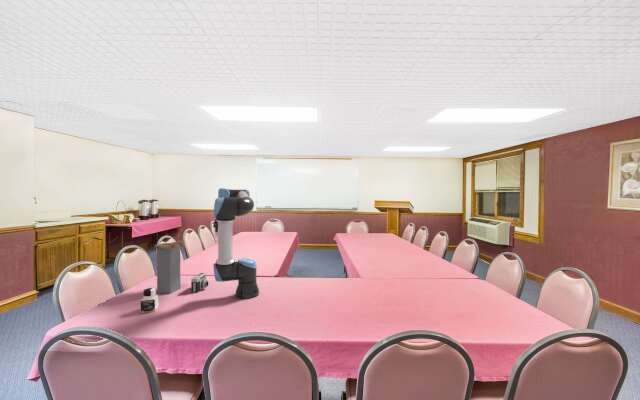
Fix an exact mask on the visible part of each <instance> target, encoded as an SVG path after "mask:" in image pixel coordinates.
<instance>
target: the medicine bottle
mask: <svg viewBox="0 0 640 400" xmlns="http://www.w3.org/2000/svg"><path fill="white" fill-rule="evenodd" d="M156 292H157V288H155V287H148V288H145V289H144V290H143V297H142V299H140V313H143V314H144V313H151V312H152V313H153V312H156V311H157V309H158V307H159V295H158V294H157V293H156Z"/></svg>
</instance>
